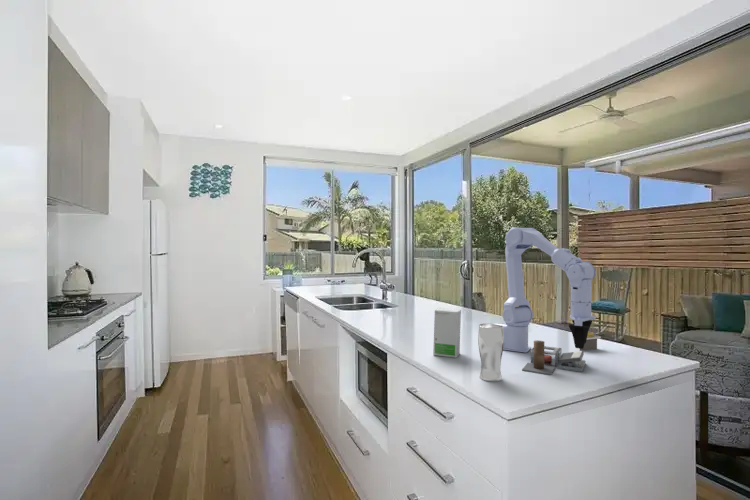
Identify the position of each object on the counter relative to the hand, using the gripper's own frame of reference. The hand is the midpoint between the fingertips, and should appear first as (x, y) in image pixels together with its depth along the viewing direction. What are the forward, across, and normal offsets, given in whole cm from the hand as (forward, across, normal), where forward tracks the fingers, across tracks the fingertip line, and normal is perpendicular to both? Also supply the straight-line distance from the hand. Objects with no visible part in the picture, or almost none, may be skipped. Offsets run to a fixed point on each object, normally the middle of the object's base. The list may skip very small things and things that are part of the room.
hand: (580, 345), depth 124 cm
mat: (+7, -9, +10) cm, 15 cm away
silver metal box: (+7, 0, +6) cm, 9 cm away
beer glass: (+7, -25, +20) cm, 33 cm away
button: (+7, +1, +10) cm, 12 cm away
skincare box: (+7, -8, +40) cm, 42 cm away
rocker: (+4, 0, +2) cm, 5 cm away
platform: (+7, +26, 0) cm, 27 cm away
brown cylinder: (+6, -9, +11) cm, 15 cm away
